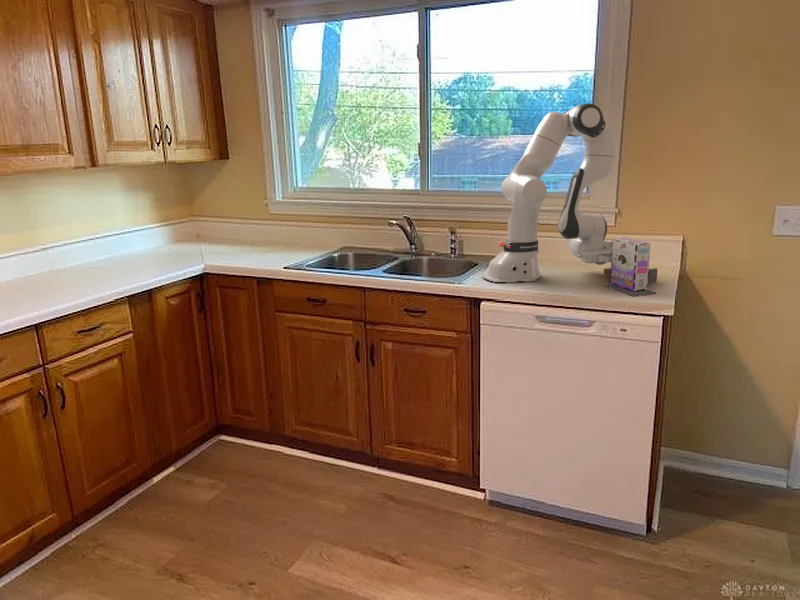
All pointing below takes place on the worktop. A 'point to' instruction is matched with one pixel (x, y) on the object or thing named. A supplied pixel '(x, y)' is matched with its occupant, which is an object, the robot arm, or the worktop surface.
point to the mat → (632, 293)
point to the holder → (651, 274)
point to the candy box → (630, 264)
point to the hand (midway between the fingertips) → (621, 258)
